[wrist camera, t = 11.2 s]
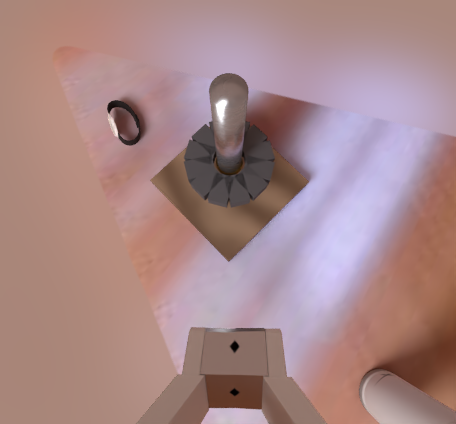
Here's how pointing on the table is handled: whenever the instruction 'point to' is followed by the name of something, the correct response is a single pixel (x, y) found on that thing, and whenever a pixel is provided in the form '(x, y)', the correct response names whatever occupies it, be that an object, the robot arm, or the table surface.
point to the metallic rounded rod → (229, 121)
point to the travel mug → (400, 401)
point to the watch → (113, 125)
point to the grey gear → (223, 184)
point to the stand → (229, 217)
